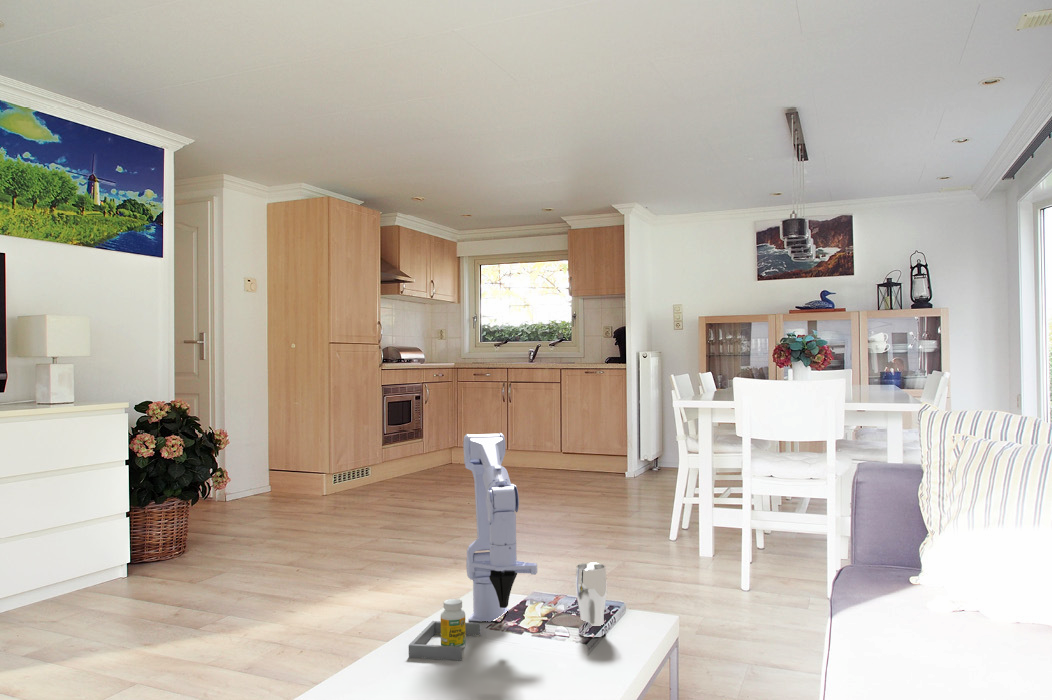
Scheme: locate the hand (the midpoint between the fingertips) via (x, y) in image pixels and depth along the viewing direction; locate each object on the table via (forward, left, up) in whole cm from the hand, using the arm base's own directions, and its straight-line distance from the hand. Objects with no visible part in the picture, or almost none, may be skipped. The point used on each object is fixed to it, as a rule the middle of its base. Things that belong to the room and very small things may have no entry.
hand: (504, 606), depth 159 cm
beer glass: (-11, +18, -9) cm, 23 cm away
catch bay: (+1, -12, -9) cm, 15 cm away
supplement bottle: (+1, -11, -9) cm, 14 cm away
